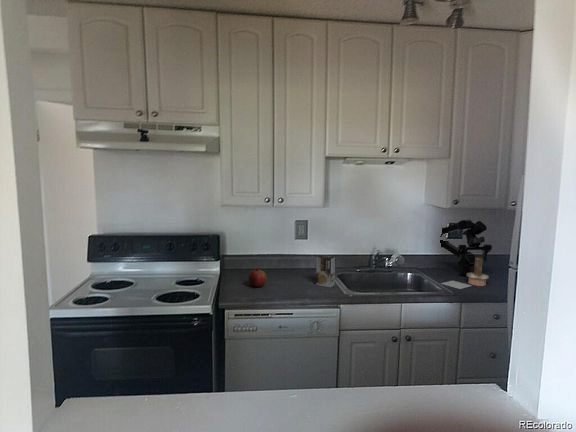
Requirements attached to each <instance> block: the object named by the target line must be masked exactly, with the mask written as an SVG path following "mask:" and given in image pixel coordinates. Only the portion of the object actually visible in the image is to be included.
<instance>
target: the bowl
mask: <svg viewBox="0 0 576 432" xmlns="http://www.w3.org/2000/svg"><path fill="white" fill-rule="evenodd" d="M467 284H469V285H471V286H477V287H484V286H486V284H487V279H475V278H470V277H468V283H467Z"/></svg>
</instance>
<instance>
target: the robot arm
mask: <svg viewBox="0 0 576 432" xmlns="http://www.w3.org/2000/svg"><path fill="white" fill-rule="evenodd" d="M441 228H442V234H441V236H440V237H443V236H444V234H445V233H448V234H449V233H453V232H456V231H460V230H464V231H463V232H462V235H465V237H466V244H467V245H466V244H459V245H458V246H455V245H453V244H452V243H450V241H449V240H448V241H443V240H440V243H441V247H440V248H443V249H445V250H447V251H448V252H450V253H451V254H453V255H454V256H455V257H457V258H458V259H459V261H458V262H457V265H458V266H459V273H458V274H457V275H458V276H461V277H465V278H469V277H468V276H467V273H474V271H473V270H474V269H473V267H475V258H477V256H476V254H475V253H472V251H481V252H482V253H481V254H482V259H483V261H484V262H487V256H488V253H490V252H491V251H492V250H493V246H492V244H483V243H485V241H486V240H485V239H486V238H485V236H480V237H477V236H479V235H481V234H483V232H485V231H487V226H486V225H485V223H484V222H482V221H481V220H478V221H476V222H475V223H474V222H473V221H472V220H471V219H462V220H460V221H457V223H455V224H452V225H448V226H446V227H441ZM481 244H483V245H482V246H481Z"/></svg>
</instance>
